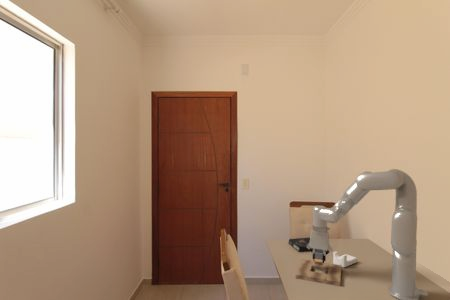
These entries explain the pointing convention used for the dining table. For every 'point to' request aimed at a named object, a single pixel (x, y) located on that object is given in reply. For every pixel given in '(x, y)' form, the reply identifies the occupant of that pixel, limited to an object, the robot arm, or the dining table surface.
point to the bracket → (343, 259)
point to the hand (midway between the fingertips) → (319, 260)
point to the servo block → (319, 257)
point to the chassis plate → (307, 274)
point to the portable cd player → (300, 244)
